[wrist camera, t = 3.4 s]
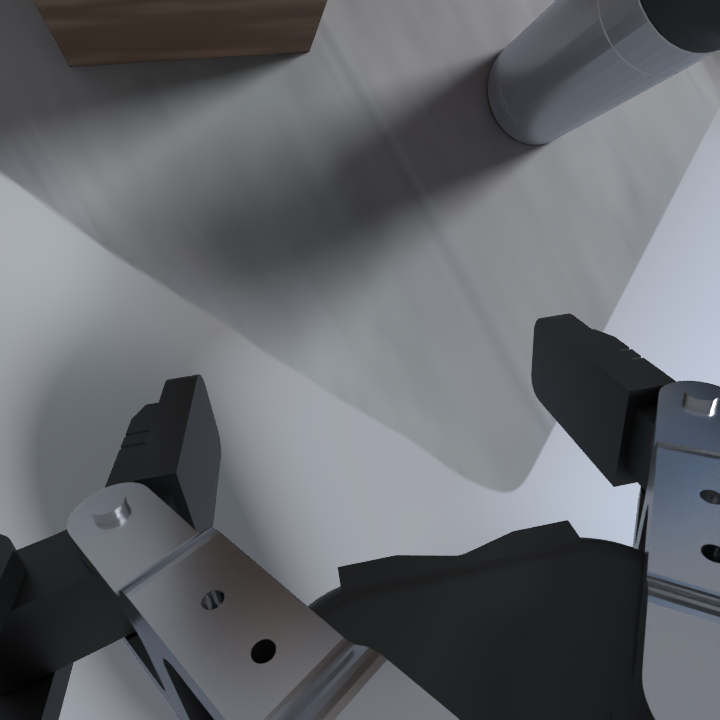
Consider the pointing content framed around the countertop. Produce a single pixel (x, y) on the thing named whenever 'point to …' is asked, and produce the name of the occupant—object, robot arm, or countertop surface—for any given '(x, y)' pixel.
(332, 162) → the countertop surface
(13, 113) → the countertop surface
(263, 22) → the wooden box
